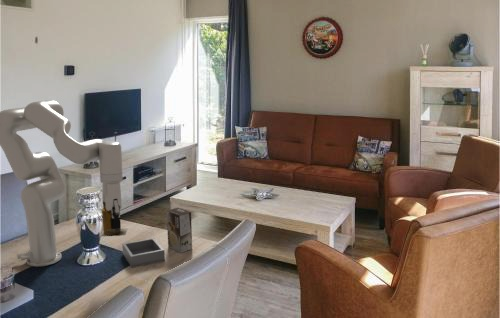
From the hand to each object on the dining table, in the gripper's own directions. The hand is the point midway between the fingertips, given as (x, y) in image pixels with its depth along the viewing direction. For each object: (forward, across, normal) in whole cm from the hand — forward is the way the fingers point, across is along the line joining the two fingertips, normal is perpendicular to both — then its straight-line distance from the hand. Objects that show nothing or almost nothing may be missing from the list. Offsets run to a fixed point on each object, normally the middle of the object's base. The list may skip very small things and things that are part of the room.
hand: (113, 224), depth 166 cm
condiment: (+3, 0, 0) cm, 3 cm away
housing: (+19, -8, +13) cm, 24 cm away
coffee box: (+19, -10, +29) cm, 36 cm away
